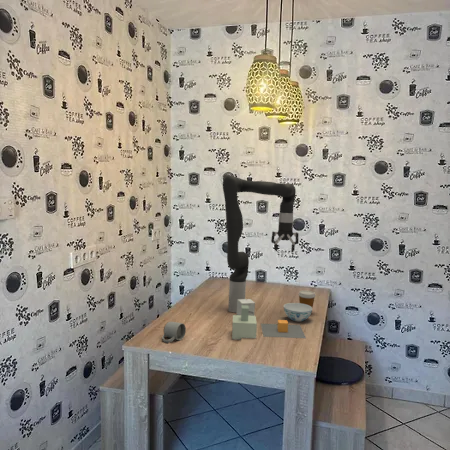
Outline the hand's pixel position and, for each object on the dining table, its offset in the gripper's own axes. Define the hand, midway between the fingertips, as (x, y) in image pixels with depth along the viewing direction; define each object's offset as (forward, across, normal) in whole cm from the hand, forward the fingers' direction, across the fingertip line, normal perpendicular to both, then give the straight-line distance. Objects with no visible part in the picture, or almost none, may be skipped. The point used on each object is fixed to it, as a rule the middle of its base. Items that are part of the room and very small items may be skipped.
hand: (284, 251), depth 232 cm
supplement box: (+36, -20, -15) cm, 44 cm away
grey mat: (+36, -2, -24) cm, 43 cm away
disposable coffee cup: (+36, +15, +8) cm, 40 cm away
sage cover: (+36, -21, -30) cm, 51 cm away
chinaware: (+36, +8, -6) cm, 38 cm away
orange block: (+35, -2, -24) cm, 43 cm away
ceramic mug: (+36, -54, -38) cm, 75 cm away
